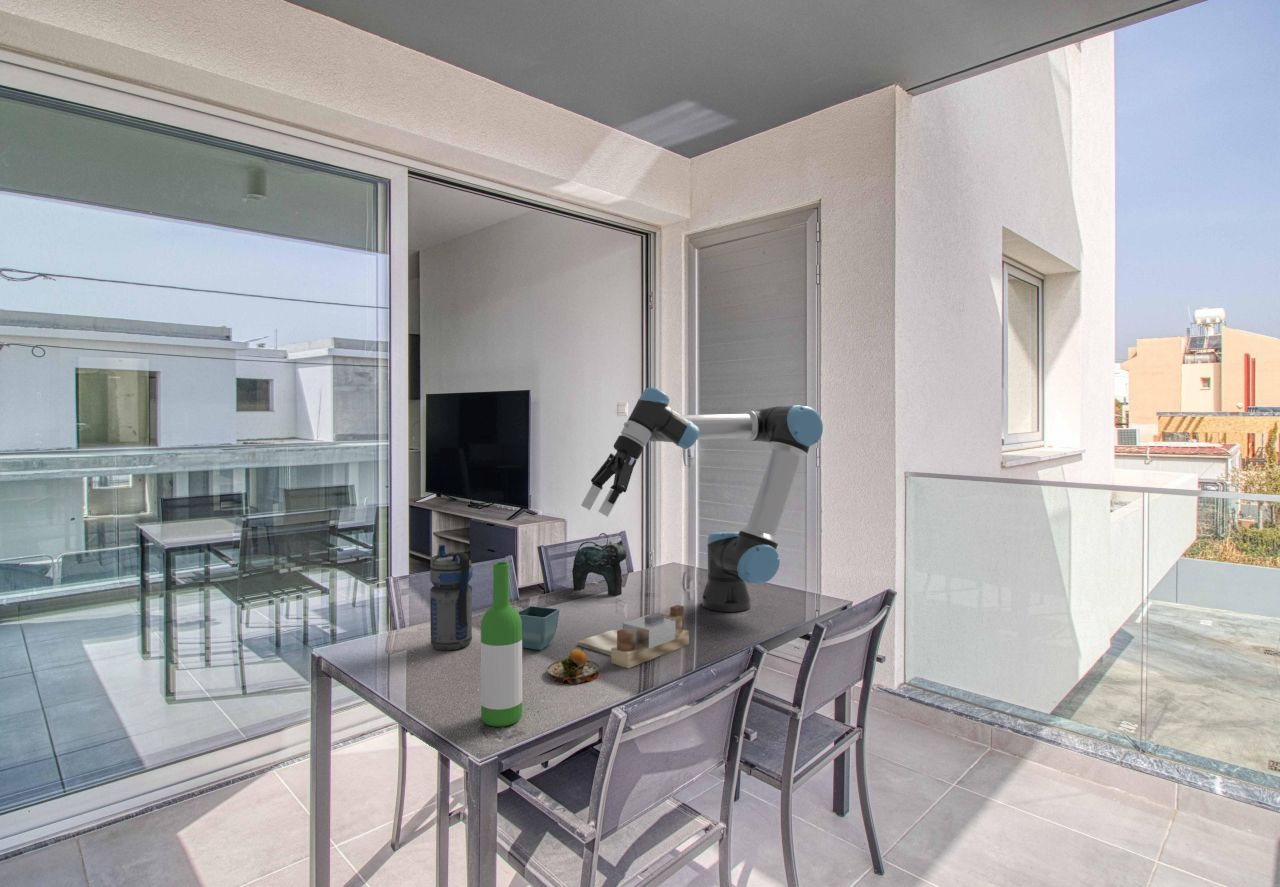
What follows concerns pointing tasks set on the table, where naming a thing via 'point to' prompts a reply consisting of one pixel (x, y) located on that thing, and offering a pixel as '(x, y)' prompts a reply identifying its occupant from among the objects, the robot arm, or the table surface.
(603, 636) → the ash board
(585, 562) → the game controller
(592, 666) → the salad plate
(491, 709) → the wine bottle
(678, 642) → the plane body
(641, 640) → the white block with stub
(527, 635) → the flower pot
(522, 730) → the table surface
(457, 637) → the beverage bottle
